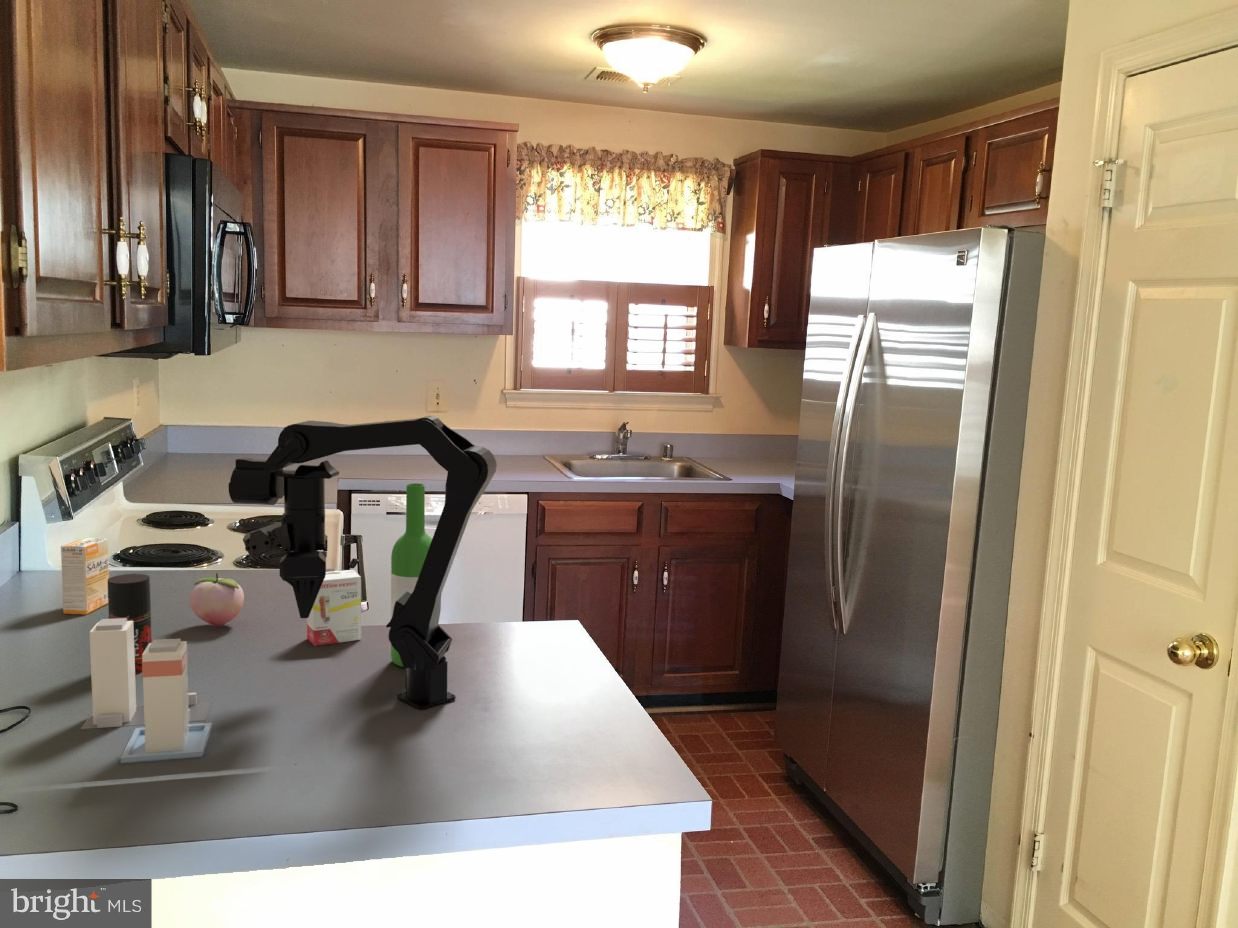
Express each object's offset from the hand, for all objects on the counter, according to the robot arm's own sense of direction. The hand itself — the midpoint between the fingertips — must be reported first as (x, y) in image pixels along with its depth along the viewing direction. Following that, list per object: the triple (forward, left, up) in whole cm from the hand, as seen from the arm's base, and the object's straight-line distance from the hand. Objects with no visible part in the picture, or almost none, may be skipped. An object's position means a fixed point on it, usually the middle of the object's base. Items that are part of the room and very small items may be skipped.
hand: (305, 609), depth 146 cm
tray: (-7, +23, -13) cm, 27 cm away
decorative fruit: (+40, -4, -13) cm, 42 cm away
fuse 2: (-7, +23, -12) cm, 27 cm away
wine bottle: (+1, -20, -13) cm, 24 cm away
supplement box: (+66, +10, -13) cm, 68 cm away
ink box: (+20, -16, -13) cm, 29 cm away
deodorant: (+26, +16, -13) cm, 33 cm away
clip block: (+5, +21, -13) cm, 25 cm away
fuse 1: (+7, +25, -12) cm, 29 cm away
